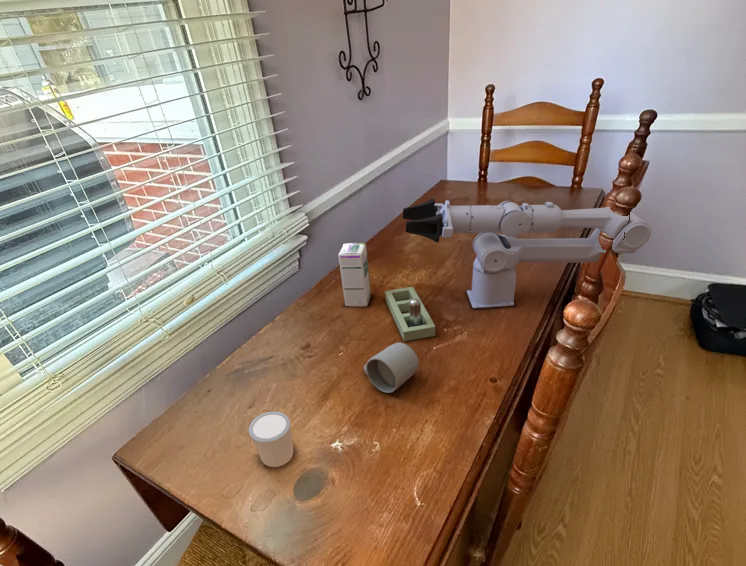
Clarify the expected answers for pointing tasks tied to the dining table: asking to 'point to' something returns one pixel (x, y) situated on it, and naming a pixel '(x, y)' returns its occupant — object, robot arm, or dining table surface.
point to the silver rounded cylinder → (415, 313)
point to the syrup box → (355, 274)
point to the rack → (408, 314)
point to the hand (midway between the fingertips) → (404, 220)
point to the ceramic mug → (392, 367)
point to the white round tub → (272, 438)
